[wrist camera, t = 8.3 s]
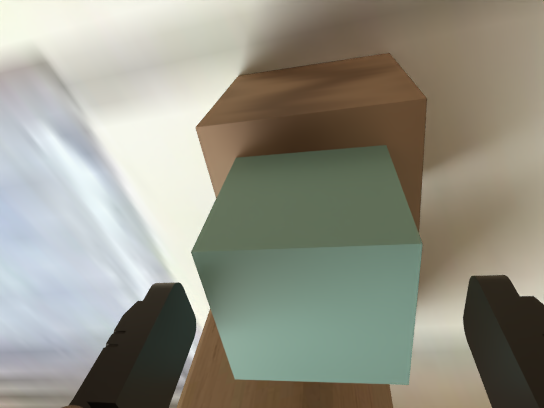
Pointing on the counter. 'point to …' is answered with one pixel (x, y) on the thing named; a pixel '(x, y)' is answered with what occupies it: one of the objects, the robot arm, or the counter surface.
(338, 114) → the walnut block
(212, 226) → the teal cube
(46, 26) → the counter surface
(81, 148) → the counter surface
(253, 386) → the block
